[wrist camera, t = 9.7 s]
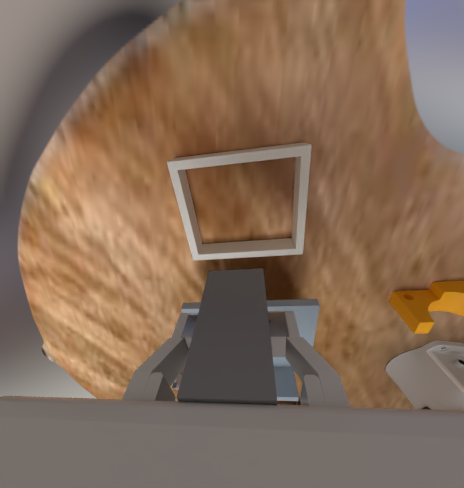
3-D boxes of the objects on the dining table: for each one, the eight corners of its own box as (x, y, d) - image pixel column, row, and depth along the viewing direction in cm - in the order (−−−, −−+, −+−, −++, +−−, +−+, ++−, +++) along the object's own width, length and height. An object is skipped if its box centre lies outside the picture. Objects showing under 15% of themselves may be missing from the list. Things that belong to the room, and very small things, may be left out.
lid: (317, 298, 24) (331, 336, 20) (307, 364, 32) (316, 401, 28) (183, 302, 26) (170, 338, 22) (204, 363, 34) (198, 398, 30)
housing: (304, 142, 23) (311, 144, 21) (298, 243, 31) (302, 254, 28) (174, 158, 25) (166, 162, 23) (197, 249, 32) (193, 260, 30)
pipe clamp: (476, 279, 32) (523, 311, 27) (464, 298, 34) (505, 331, 29) (395, 283, 34) (424, 314, 28) (388, 300, 36) (414, 333, 30)
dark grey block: (263, 268, 13) (277, 400, 7) (264, 306, 14) (276, 436, 8) (209, 270, 13) (176, 397, 7) (217, 307, 15) (196, 432, 9)
